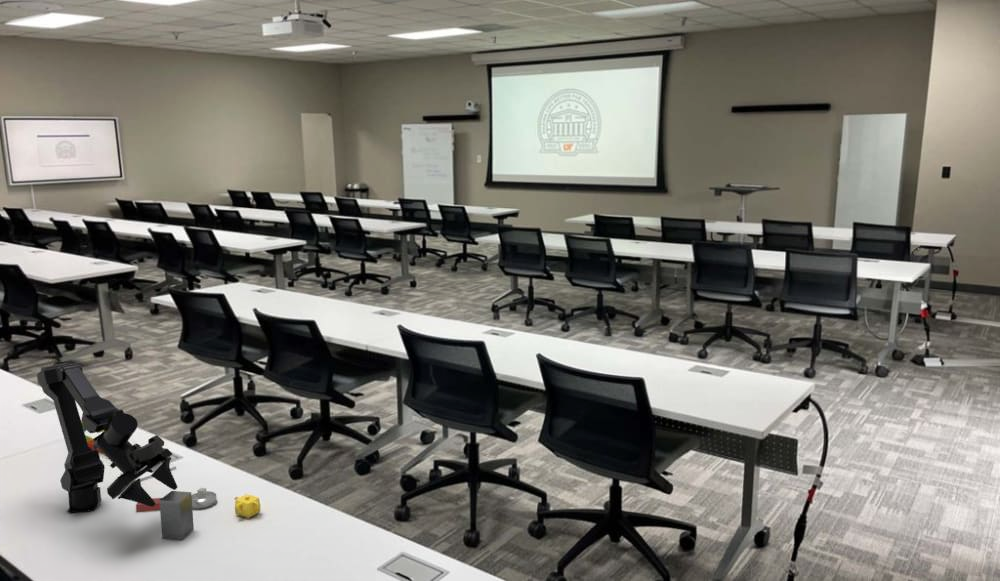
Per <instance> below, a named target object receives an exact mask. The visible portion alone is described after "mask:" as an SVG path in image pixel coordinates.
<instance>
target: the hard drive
mask: <svg viewBox="0 0 1000 581" xmlns="http://www.w3.org/2000/svg"><path fill="white" fill-rule="evenodd" d="M169 467H170V470H171V472H172V471H175V470H177V466H176V464H175V465H174V464H172V463H170V465H169ZM153 473H154V472H152V473H150V472H146V473H144V474H143V475H141V476H140V477H138V478H137V479H139V478H140V482H144V481H146V480H149V479H153V478H154V477H152V476H151V475H152V474H153ZM122 474H123V473H122V472H121V473H120V475H122ZM137 474H138V473H137ZM137 479H136V480H137Z"/></svg>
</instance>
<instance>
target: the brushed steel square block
mask: <svg viewBox="0 0 1000 581" xmlns="http://www.w3.org/2000/svg"><path fill="white" fill-rule="evenodd" d="M192 495H193V494H192V492H191V491H179V490H171V491H169V492H168V493H167V494H165V495H164V496H163V497H161V498H162V499H160V500H159V503H160V510H159V512H160V513H159V516H160V527H161V539H162V540H172V541H173V540H175V541H183V540H184V539H185V538H187V537H188V536H189V535H190V534H191V533H192V532H194V531H195V530H194V529H195V527H194V516H193V515H194V513H193V511H194V510H193V509H192Z"/></svg>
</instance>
